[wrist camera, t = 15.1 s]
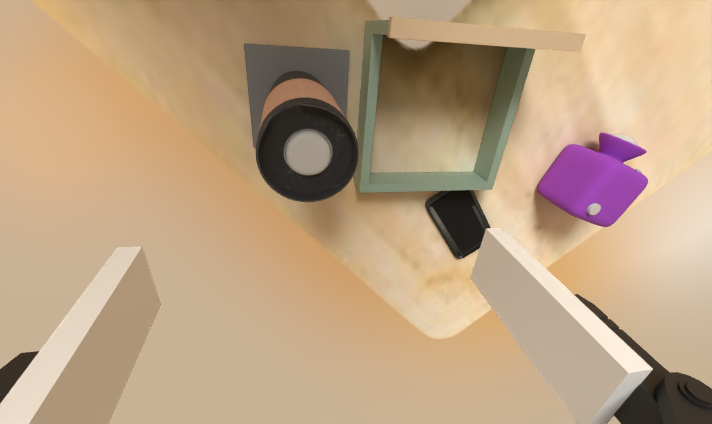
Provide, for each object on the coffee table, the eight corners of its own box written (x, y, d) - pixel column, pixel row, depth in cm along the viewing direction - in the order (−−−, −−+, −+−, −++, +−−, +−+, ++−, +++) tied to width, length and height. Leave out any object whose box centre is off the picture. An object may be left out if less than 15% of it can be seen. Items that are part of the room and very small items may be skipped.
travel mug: (317, 139, 43) (339, 214, 26) (260, 119, 40) (242, 189, 23) (337, 82, 40) (377, 125, 23) (276, 57, 37) (270, 84, 20)
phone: (458, 261, 59) (424, 205, 51) (455, 257, 60) (422, 201, 52) (496, 238, 58) (467, 177, 50) (492, 234, 59) (464, 174, 51)
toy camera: (619, 130, 52) (684, 150, 44) (575, 203, 58) (624, 234, 50) (567, 118, 49) (626, 138, 41) (526, 197, 55) (570, 228, 47)
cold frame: (365, 18, 37) (392, 17, 28) (519, 32, 41) (586, 34, 32) (354, 180, 47) (370, 218, 38) (478, 178, 51) (520, 212, 42)
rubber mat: (244, 43, 36) (244, 44, 36) (348, 50, 39) (349, 50, 38) (253, 146, 42) (253, 147, 42) (343, 146, 44) (344, 147, 44)
